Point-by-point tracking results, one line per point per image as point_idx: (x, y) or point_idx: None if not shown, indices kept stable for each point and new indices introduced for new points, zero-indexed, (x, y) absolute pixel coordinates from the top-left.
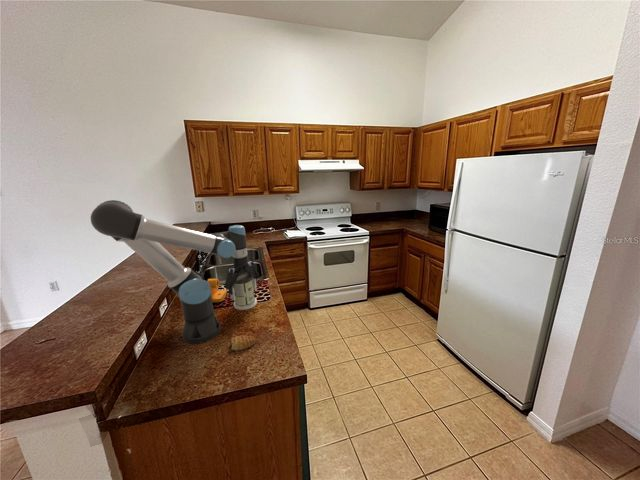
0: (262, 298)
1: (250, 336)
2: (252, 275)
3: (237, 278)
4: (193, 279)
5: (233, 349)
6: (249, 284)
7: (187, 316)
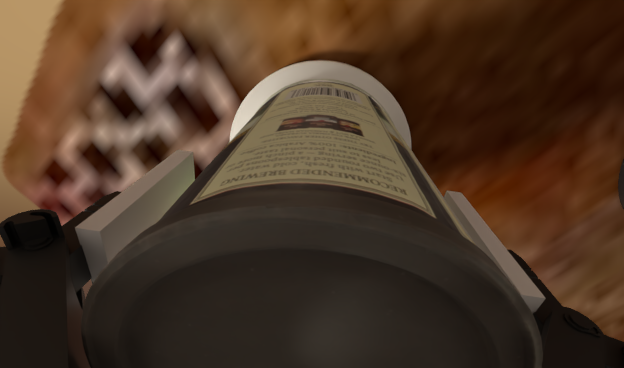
0: (184, 93)
1: None
2: (65, 308)
3: None
4: None
5: None
6: (321, 153)
7: None
